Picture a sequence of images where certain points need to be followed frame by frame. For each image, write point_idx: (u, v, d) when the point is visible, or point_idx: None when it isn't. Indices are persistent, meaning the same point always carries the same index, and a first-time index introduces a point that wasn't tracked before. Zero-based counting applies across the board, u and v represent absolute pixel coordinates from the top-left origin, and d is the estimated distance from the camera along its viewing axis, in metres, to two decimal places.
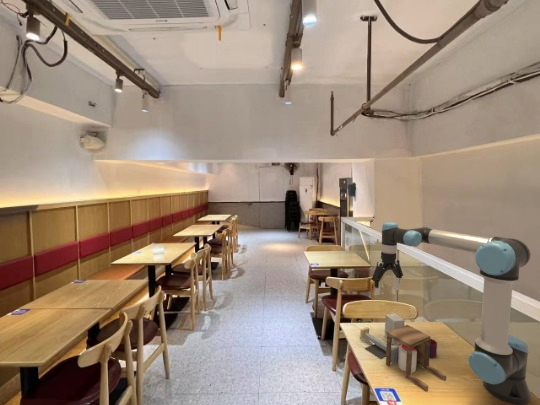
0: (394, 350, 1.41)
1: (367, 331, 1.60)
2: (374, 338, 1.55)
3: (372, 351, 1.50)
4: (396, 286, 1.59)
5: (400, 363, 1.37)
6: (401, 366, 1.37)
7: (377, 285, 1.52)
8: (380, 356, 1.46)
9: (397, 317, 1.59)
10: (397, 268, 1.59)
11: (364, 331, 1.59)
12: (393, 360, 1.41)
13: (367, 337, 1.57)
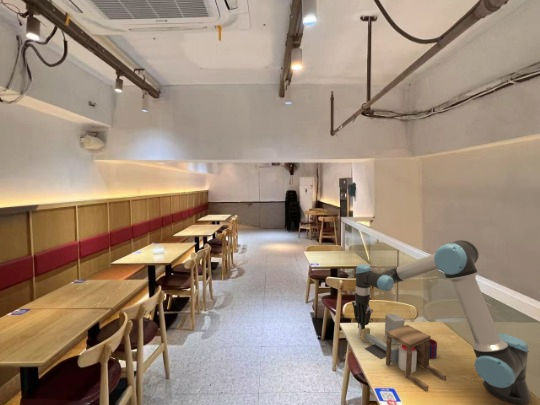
0: (395, 351, 1.40)
1: (368, 331, 1.60)
2: (375, 339, 1.54)
3: (372, 351, 1.50)
4: None
5: (400, 363, 1.37)
6: (401, 366, 1.37)
7: (358, 325, 1.63)
8: (380, 356, 1.46)
9: (397, 317, 1.59)
10: None
11: (365, 331, 1.59)
12: (394, 361, 1.41)
13: (368, 338, 1.57)
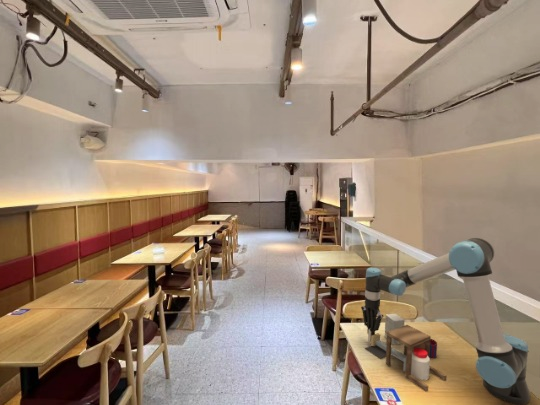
0: None
1: (378, 337, 1.54)
2: (386, 345, 1.48)
3: (372, 351, 1.50)
4: None
5: (412, 370, 1.32)
6: (413, 374, 1.31)
7: (368, 331, 1.57)
8: (380, 356, 1.46)
9: (397, 317, 1.59)
10: None
11: (375, 337, 1.53)
12: None
13: (378, 344, 1.51)
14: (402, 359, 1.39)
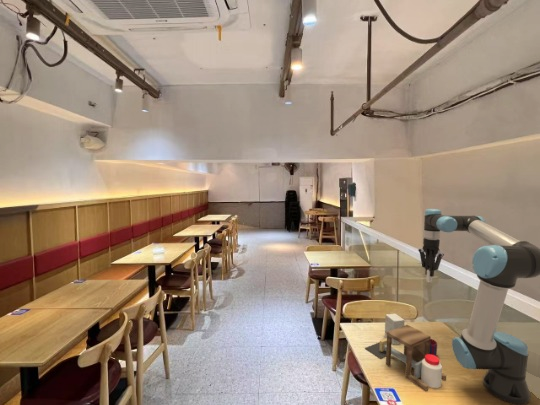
0: (419, 365, 1.30)
1: None
2: (395, 351, 1.44)
3: (372, 351, 1.50)
4: None
5: (423, 378, 1.27)
6: (425, 381, 1.27)
7: (426, 272, 1.59)
8: (380, 356, 1.46)
9: (397, 317, 1.59)
10: None
11: (384, 343, 1.48)
12: (418, 376, 1.30)
13: None
14: (413, 365, 1.34)
